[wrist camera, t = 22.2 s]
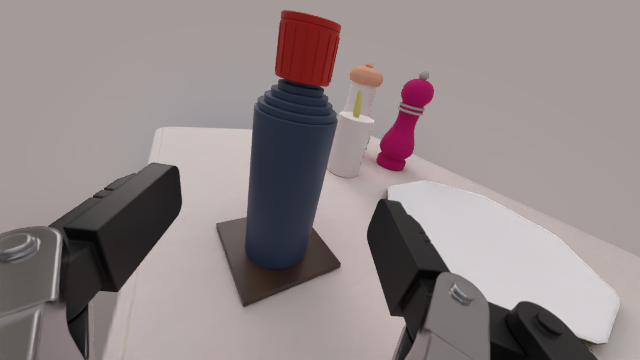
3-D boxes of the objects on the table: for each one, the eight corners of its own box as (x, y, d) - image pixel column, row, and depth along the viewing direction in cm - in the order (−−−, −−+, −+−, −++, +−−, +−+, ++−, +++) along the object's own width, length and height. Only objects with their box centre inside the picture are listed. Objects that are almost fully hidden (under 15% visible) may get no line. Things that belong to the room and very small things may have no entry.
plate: (444, 181, 51) (447, 175, 50) (621, 282, 32) (630, 275, 31) (349, 199, 36) (352, 191, 36) (573, 409, 17) (588, 401, 16)
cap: (289, 82, 14) (299, 9, 12) (266, 70, 17) (271, 10, 15) (339, 89, 16) (353, 28, 15) (312, 78, 19) (321, 25, 17)
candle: (363, 178, 44) (391, 97, 37) (331, 176, 42) (354, 90, 35) (352, 163, 49) (374, 90, 42) (323, 161, 47) (341, 83, 40)
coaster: (243, 307, 19) (243, 302, 18) (216, 227, 25) (216, 223, 25) (339, 267, 24) (341, 263, 24) (296, 210, 31) (297, 207, 31)
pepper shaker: (330, 141, 59) (350, 58, 50) (357, 146, 60) (381, 65, 51) (333, 152, 52) (356, 59, 43) (363, 158, 53) (392, 68, 44)
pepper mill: (407, 165, 55) (445, 75, 46) (402, 175, 49) (445, 74, 40) (378, 155, 57) (409, 67, 48) (370, 163, 51) (404, 65, 42)
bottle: (257, 278, 20) (286, 14, 11) (237, 231, 25) (246, 13, 16) (317, 257, 24) (378, 43, 15) (290, 219, 28) (324, 36, 19)
